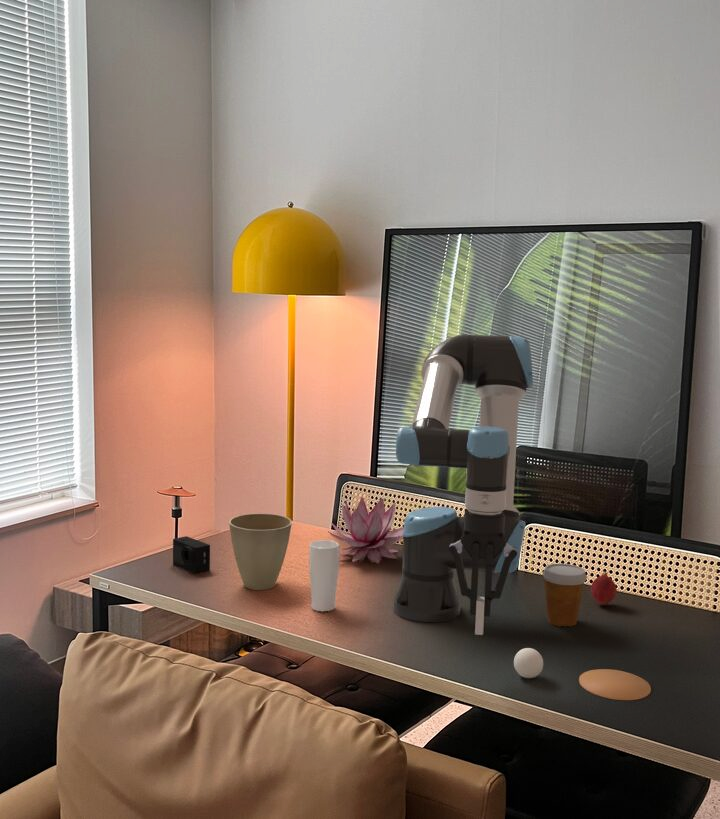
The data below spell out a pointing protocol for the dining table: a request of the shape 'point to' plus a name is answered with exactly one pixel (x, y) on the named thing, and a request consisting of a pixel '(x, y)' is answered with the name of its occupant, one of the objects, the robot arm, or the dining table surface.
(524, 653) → the ball
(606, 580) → the red bumpy oval piece
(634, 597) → the dining table surface
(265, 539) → the plant pot
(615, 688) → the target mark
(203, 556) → the digital camera
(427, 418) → the robot arm
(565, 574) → the disposable coffee cup
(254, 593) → the dining table surface
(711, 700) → the dining table surface
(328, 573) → the drinking glass
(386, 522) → the decorative flower
